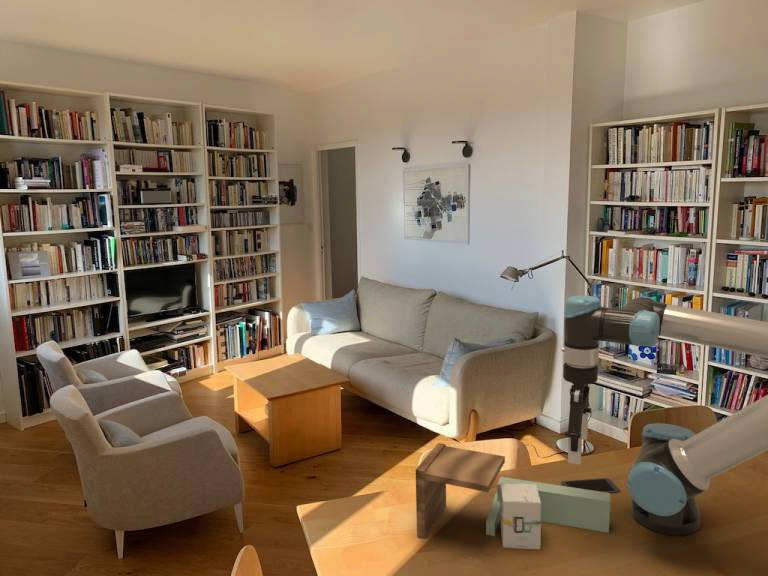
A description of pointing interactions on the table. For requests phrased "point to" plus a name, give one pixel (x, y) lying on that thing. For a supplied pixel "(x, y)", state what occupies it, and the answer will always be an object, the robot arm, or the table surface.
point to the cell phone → (593, 485)
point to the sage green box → (561, 506)
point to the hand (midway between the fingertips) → (577, 450)
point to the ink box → (520, 516)
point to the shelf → (450, 479)
